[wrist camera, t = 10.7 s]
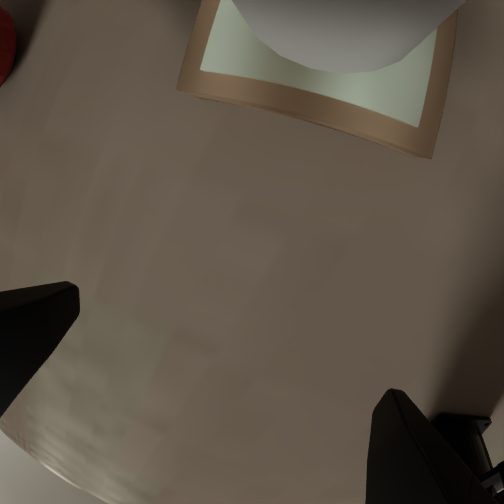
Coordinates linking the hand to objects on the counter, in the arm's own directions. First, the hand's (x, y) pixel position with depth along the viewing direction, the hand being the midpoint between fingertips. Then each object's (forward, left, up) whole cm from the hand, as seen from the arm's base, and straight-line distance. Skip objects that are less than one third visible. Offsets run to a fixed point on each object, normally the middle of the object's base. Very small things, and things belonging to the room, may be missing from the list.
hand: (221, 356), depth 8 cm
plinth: (0, -12, -10) cm, 15 cm away
